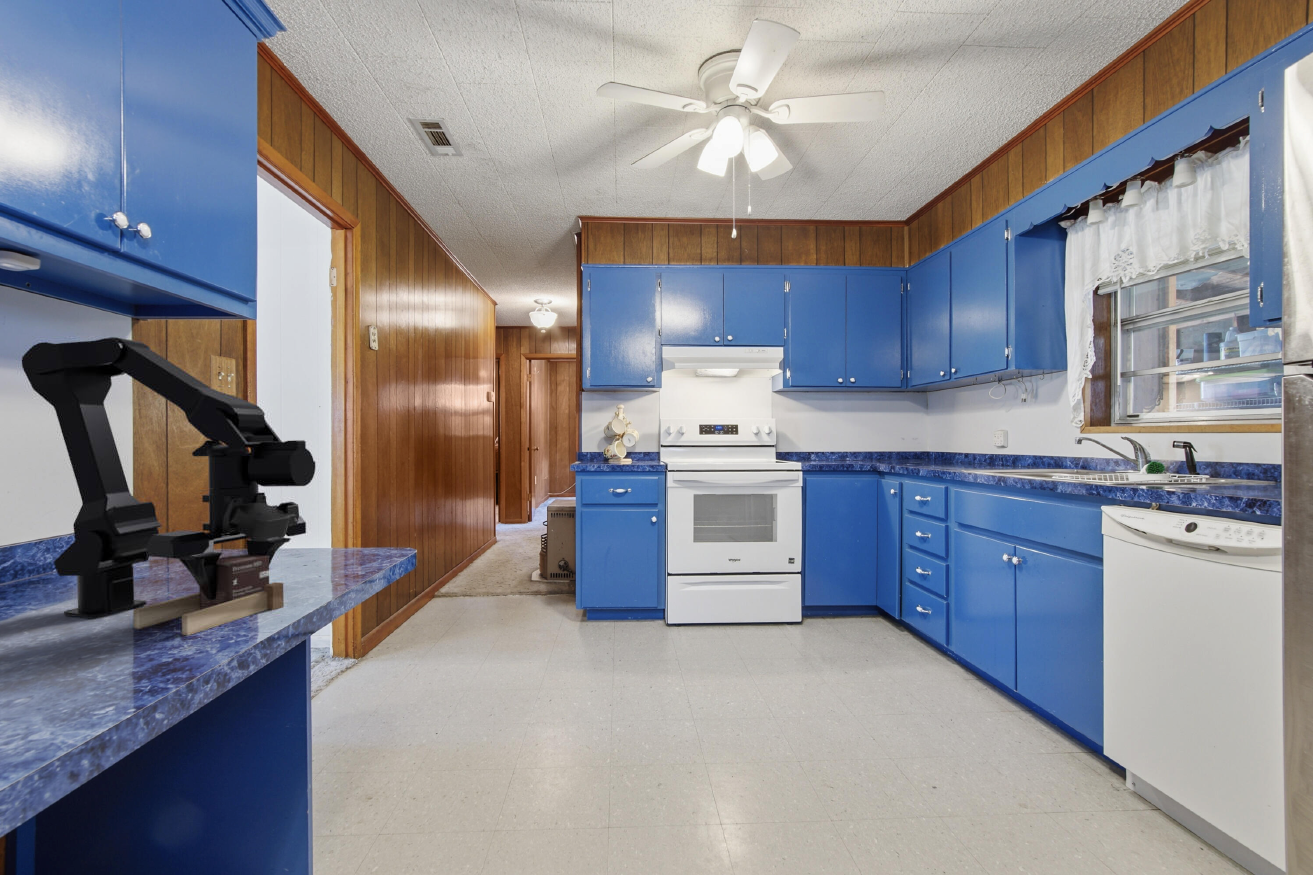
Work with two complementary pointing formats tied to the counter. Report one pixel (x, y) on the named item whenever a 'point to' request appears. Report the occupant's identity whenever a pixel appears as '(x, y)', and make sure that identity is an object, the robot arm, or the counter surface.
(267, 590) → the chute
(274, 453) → the robot arm
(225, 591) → the box
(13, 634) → the counter surface
